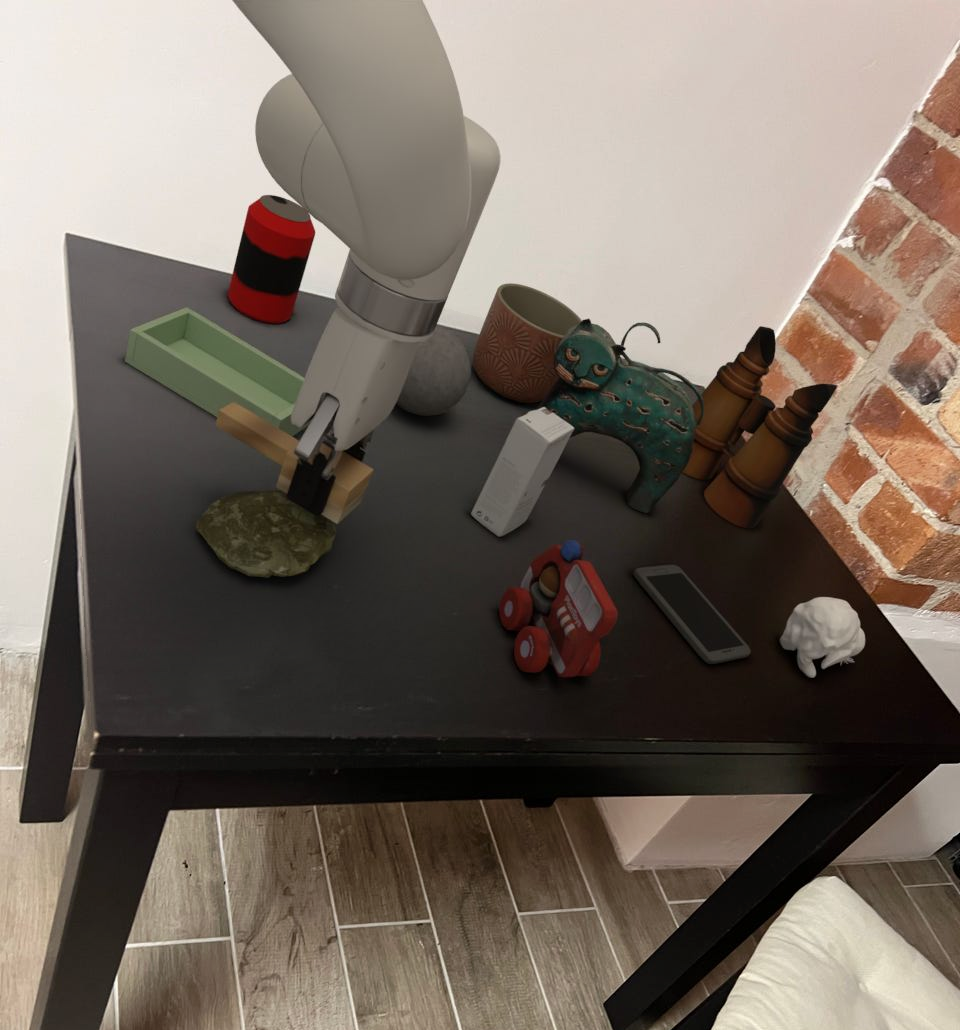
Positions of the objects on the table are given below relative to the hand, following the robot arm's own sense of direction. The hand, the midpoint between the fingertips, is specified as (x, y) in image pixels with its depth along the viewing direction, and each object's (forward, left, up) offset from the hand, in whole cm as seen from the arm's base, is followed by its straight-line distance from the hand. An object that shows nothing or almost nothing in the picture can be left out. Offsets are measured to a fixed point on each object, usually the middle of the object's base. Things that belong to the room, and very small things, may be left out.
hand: (320, 491), depth 77 cm
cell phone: (+35, +24, -6) cm, 43 cm away
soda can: (-26, +34, -6) cm, 43 cm away
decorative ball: (-4, +32, -6) cm, 33 cm away
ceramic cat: (+17, +39, -6) cm, 43 cm away
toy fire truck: (+23, +6, -6) cm, 24 cm away
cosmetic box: (+12, +21, -6) cm, 25 cm away
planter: (+2, +51, -6) cm, 51 cm away
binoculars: (+32, +57, -6) cm, 66 cm away
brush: (-3, 0, 0) cm, 4 cm away
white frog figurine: (+50, +30, -6) cm, 59 cm away
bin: (-18, +15, -6) cm, 24 cm away
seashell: (-2, -2, -6) cm, 7 cm away
